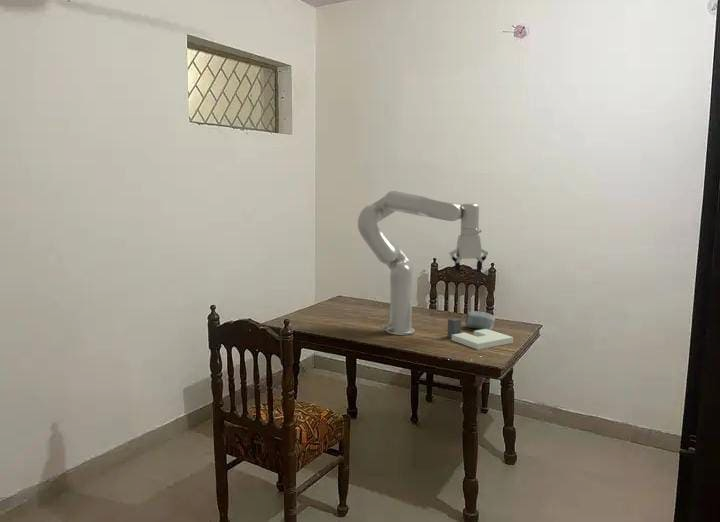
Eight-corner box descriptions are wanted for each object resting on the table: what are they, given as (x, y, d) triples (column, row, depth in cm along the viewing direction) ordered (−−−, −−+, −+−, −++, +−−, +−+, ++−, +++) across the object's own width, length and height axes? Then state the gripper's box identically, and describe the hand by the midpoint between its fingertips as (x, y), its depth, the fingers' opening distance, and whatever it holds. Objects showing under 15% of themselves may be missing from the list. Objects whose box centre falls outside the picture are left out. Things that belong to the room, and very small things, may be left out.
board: (478, 349, 223) (478, 343, 223) (451, 340, 236) (451, 334, 236) (513, 342, 233) (513, 337, 233) (485, 334, 247) (486, 328, 247)
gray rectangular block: (453, 339, 238) (454, 320, 237) (447, 336, 242) (448, 318, 241) (460, 337, 240) (461, 319, 239) (454, 335, 244) (455, 317, 243)
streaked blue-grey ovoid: (458, 321, 256) (468, 302, 256) (466, 327, 263) (477, 308, 264) (482, 334, 247) (493, 314, 247) (490, 339, 254) (501, 320, 255)
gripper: (484, 231, 244) (483, 269, 246) (447, 231, 241) (446, 270, 243) (491, 232, 237) (490, 272, 239) (453, 233, 233) (452, 273, 236)
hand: (468, 271), depth 241 cm, fingers open, 9 cm apart
